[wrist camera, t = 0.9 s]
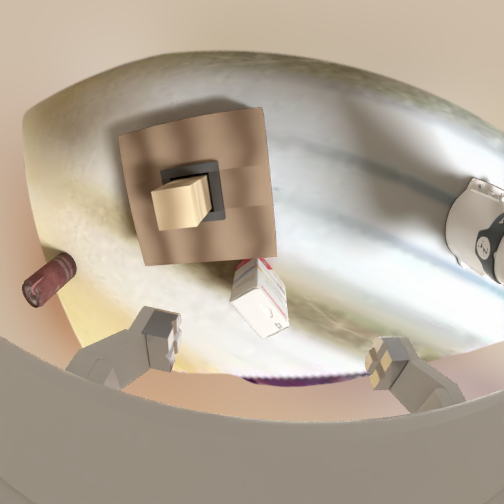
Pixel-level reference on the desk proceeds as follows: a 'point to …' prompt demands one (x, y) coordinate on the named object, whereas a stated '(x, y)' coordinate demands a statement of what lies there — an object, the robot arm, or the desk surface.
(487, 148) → the desk surface
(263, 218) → the sleeve block
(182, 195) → the peg
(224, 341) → the desk surface
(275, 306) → the ink box
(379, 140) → the desk surface
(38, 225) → the desk surface
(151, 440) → the robot arm
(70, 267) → the can
